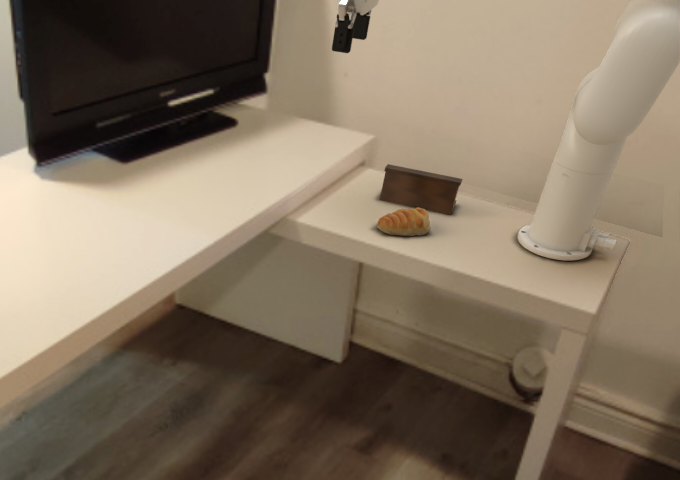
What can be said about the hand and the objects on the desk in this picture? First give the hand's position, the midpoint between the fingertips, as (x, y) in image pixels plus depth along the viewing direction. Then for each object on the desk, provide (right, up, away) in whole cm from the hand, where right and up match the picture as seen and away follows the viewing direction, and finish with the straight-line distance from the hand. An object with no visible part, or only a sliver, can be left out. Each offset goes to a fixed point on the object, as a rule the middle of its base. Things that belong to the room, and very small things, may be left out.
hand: (349, 44), depth 141 cm
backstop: (+18, -24, +17) cm, 35 cm away
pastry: (+13, -32, +8) cm, 35 cm away
